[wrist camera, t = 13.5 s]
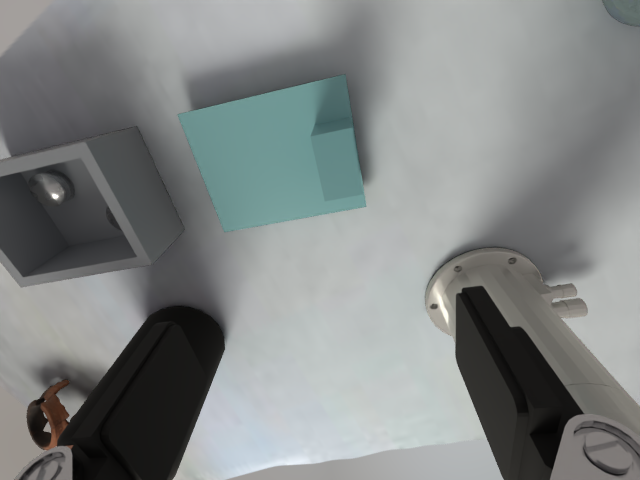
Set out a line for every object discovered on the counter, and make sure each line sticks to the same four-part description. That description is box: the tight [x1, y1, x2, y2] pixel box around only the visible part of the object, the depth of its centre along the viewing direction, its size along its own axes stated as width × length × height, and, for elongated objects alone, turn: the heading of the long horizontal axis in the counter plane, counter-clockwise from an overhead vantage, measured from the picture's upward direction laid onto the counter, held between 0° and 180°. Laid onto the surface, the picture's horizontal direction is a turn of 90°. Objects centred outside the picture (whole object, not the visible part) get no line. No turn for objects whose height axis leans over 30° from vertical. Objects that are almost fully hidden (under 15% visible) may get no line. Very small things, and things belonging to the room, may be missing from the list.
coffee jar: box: [57, 306, 225, 480], centre depth 35 cm, size 11×11×18 cm
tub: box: [0, 126, 185, 287], centre depth 30 cm, size 14×11×7 cm
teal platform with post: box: [178, 74, 366, 232], centre depth 28 cm, size 14×11×8 cm
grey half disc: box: [106, 206, 122, 231], centre depth 32 cm, size 3×3×2 cm
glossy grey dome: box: [28, 170, 75, 206], centre depth 31 cm, size 3×3×2 cm
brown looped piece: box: [27, 380, 75, 450], centre depth 48 cm, size 12×10×8 cm
